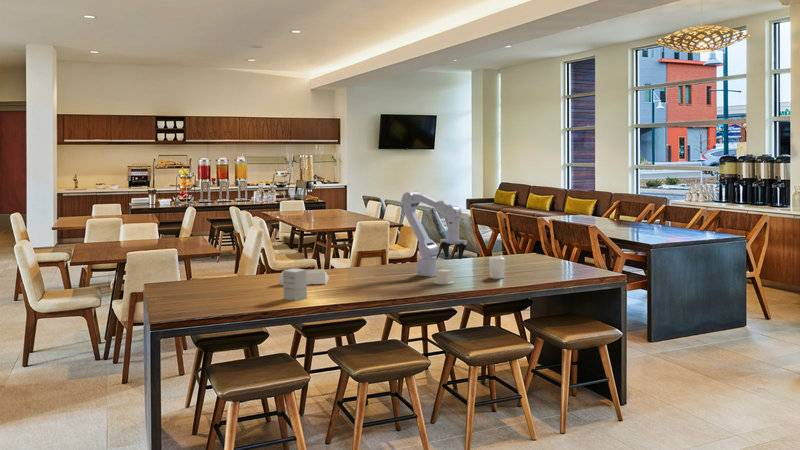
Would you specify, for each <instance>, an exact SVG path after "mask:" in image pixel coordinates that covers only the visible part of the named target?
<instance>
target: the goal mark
mask: <svg viewBox="0 0 800 450" xmlns="http://www.w3.org/2000/svg"><path fill="white" fill-rule="evenodd" d="M454 283H455V281H454V280H452V282H449V283H438V282H436V280H433V284H437V285H452V284H454Z"/></svg>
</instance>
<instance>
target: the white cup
mask: <svg viewBox="0 0 800 450" xmlns="http://www.w3.org/2000/svg"><path fill="white" fill-rule="evenodd" d="M488 261H489V263H488V267H489V278H490V279H498V280H499V279H504V277H505V275H504V274H505V266H506V265H505V264H506V263H505V262H506V258H505V256H490V257H488Z"/></svg>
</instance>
